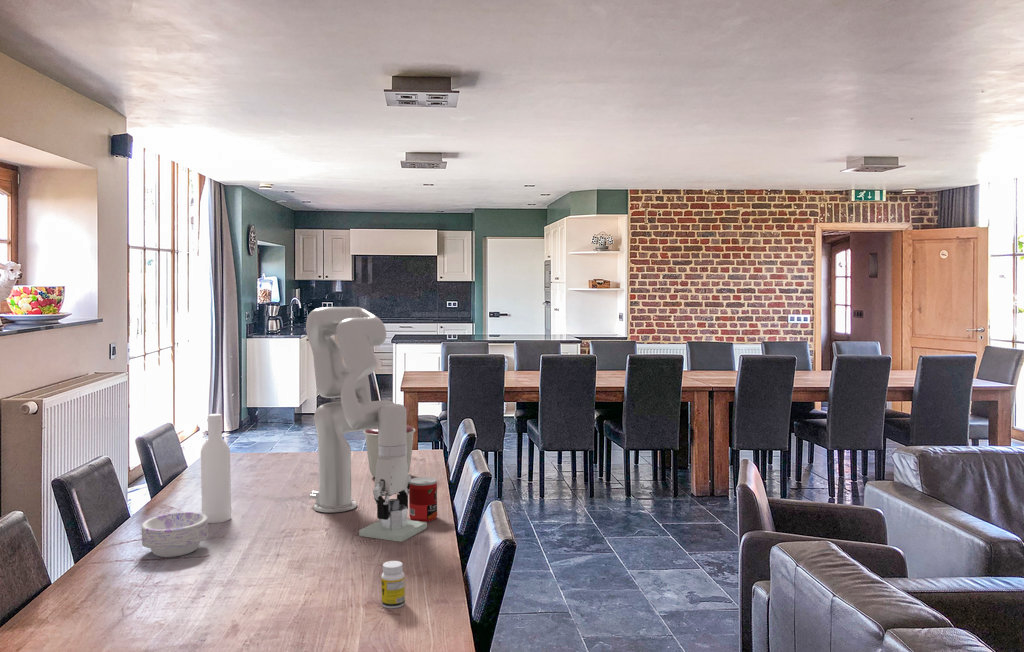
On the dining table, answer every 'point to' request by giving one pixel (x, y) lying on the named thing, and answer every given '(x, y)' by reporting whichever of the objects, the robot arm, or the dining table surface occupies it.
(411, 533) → the green board
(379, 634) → the dining table surface
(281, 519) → the dining table surface
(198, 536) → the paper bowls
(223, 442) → the bottle
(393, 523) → the metal ring
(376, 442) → the canister
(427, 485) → the canned food
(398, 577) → the supplement bottle
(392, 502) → the steel post
